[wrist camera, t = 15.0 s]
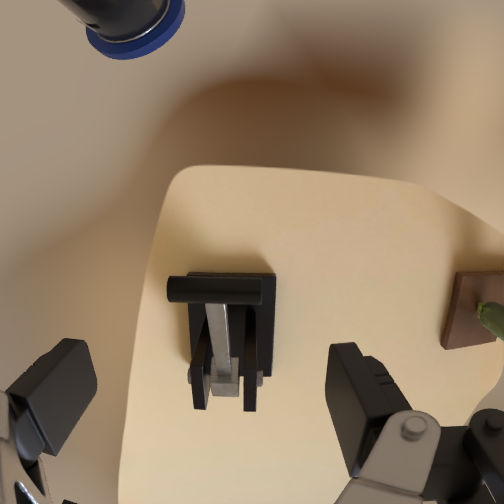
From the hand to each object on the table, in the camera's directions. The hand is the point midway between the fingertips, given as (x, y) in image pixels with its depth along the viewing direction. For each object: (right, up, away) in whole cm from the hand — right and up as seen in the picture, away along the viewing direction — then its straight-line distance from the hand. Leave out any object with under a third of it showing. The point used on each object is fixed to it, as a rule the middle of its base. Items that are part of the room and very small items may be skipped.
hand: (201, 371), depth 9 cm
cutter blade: (0, -2, +12) cm, 13 cm away
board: (+31, -4, +25) cm, 40 cm away
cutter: (-1, -4, +25) cm, 25 cm away
